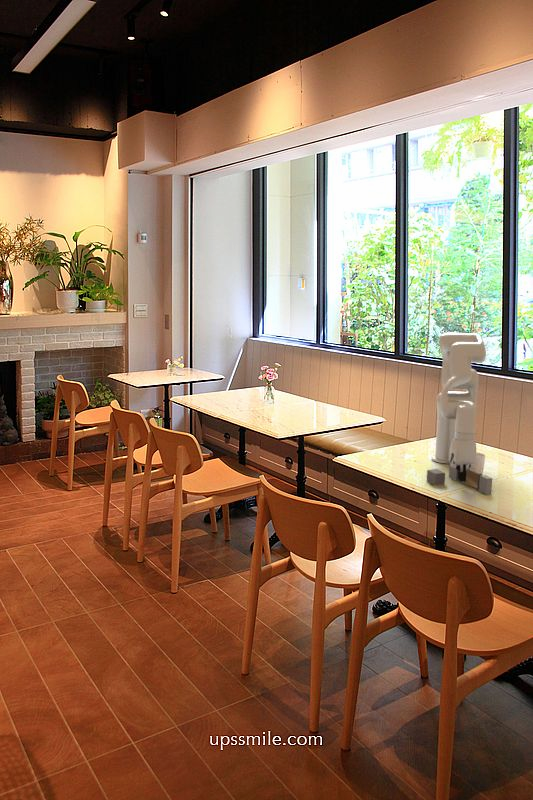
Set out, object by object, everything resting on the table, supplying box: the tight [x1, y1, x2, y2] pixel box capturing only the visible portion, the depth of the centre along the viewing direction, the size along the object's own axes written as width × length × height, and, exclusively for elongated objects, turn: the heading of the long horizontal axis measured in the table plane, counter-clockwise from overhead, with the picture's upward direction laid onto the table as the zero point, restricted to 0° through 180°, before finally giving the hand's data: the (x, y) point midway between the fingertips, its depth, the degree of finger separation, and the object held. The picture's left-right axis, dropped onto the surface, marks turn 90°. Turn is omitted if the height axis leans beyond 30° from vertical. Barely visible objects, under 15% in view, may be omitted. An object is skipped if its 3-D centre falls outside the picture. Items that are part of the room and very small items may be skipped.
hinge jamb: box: [478, 474, 493, 496], centre depth 293 cm, size 2×5×6 cm, turn 21°
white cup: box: [469, 451, 486, 475], centre depth 312 cm, size 8×8×10 cm
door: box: [462, 469, 482, 491], centre depth 302 cm, size 2×14×6 cm, turn 21°
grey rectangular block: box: [426, 468, 446, 486], centre depth 305 cm, size 4×6×5 cm
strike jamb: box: [448, 462, 459, 481], centre depth 311 cm, size 2×5×6 cm, turn 21°
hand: (461, 480), depth 298 cm, fingers closed
